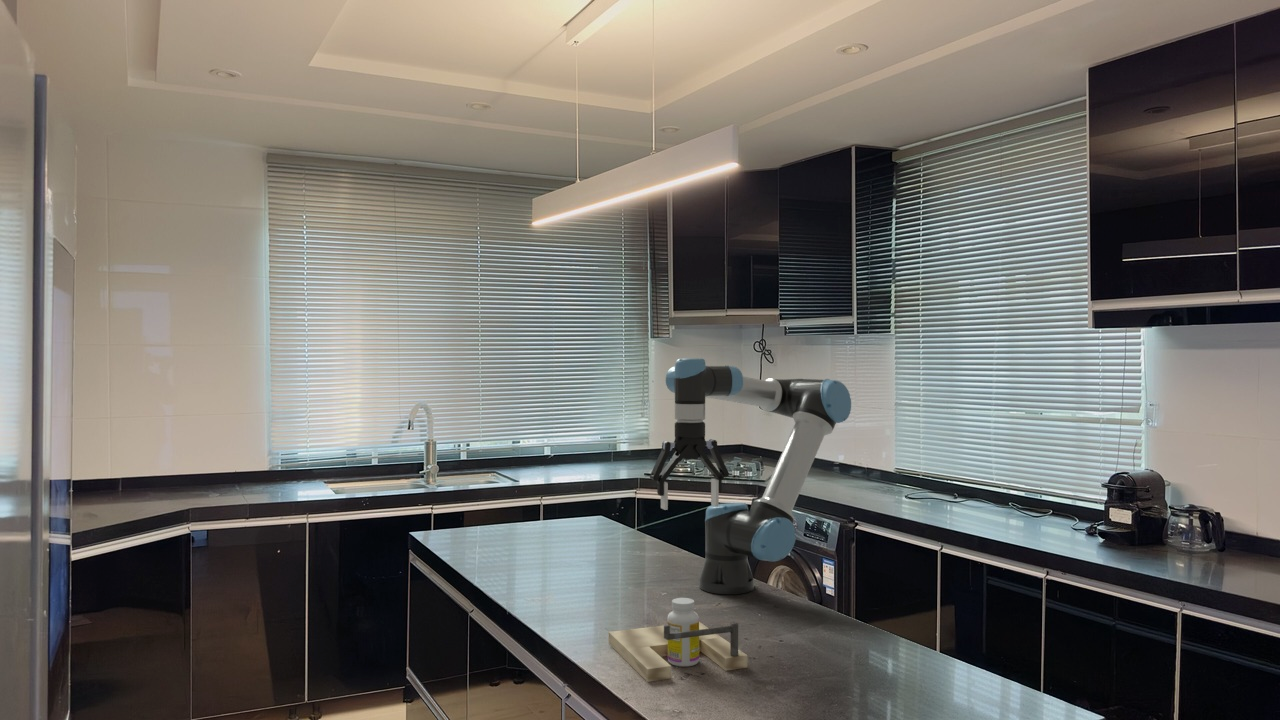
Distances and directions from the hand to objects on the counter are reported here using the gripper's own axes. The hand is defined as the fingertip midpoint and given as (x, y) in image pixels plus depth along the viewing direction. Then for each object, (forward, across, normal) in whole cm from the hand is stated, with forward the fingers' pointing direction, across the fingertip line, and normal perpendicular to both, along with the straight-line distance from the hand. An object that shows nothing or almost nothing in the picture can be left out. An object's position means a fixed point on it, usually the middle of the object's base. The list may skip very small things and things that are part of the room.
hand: (689, 507), depth 209 cm
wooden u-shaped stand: (+27, +14, +24) cm, 39 cm away
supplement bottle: (+27, +14, +28) cm, 42 cm away
